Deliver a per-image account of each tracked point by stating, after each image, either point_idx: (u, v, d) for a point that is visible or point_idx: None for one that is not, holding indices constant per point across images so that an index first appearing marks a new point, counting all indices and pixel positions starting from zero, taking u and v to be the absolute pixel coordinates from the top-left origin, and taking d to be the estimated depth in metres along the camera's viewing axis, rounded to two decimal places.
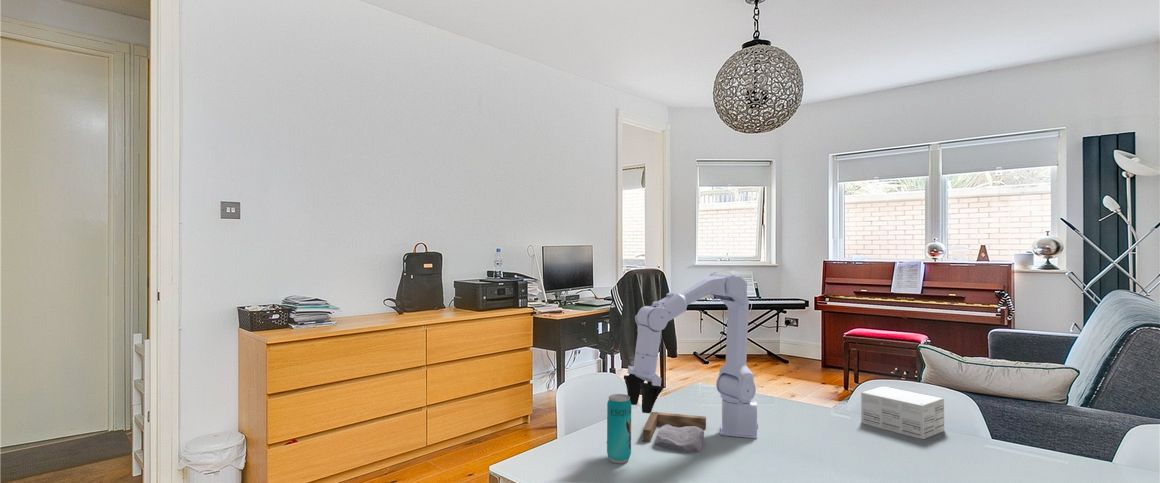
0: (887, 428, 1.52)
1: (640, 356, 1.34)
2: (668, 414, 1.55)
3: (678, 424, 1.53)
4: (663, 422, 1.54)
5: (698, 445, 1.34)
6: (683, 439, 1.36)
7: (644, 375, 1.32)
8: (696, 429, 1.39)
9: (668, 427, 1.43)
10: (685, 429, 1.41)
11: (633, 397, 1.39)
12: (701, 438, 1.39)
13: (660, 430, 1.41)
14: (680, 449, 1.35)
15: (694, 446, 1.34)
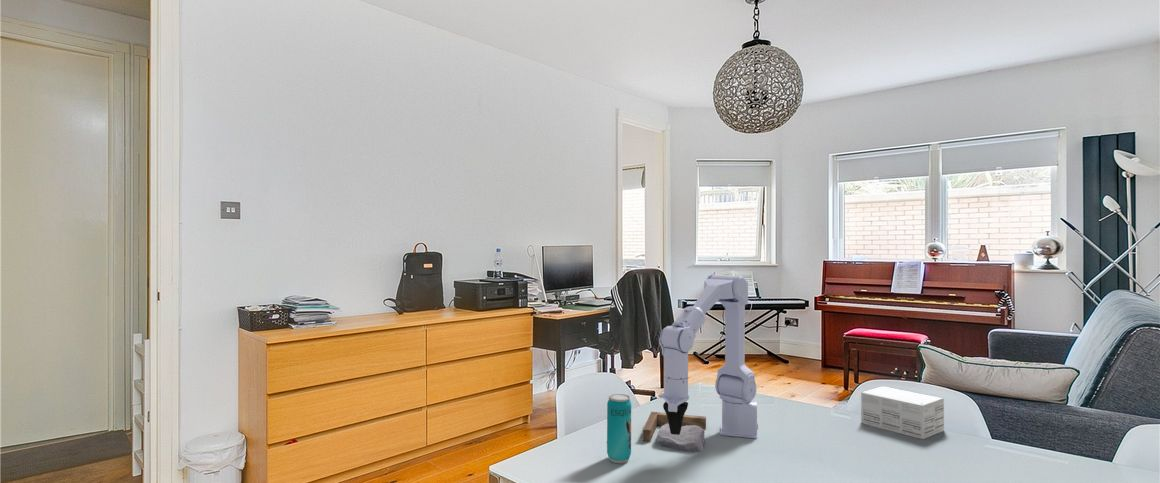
0: (887, 428, 1.52)
1: (665, 379, 1.29)
2: None
3: None
4: (663, 422, 1.54)
5: (699, 444, 1.35)
6: (684, 438, 1.37)
7: (666, 399, 1.26)
8: (696, 428, 1.40)
9: (668, 426, 1.44)
10: (685, 428, 1.42)
11: None
12: (702, 437, 1.39)
13: (661, 429, 1.41)
14: (681, 448, 1.36)
15: (695, 445, 1.35)
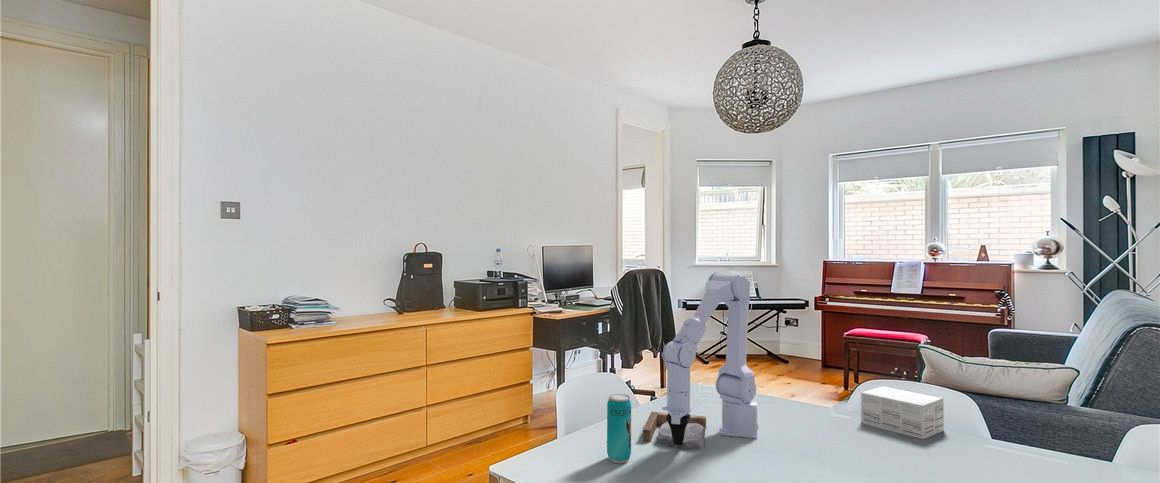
0: (887, 428, 1.52)
1: (668, 392, 1.35)
2: None
3: None
4: (663, 422, 1.54)
5: (699, 442, 1.37)
6: (685, 436, 1.38)
7: (669, 412, 1.33)
8: (697, 426, 1.41)
9: None
10: (686, 426, 1.43)
11: None
12: (702, 435, 1.41)
13: (662, 427, 1.43)
14: (682, 446, 1.37)
15: (696, 443, 1.36)
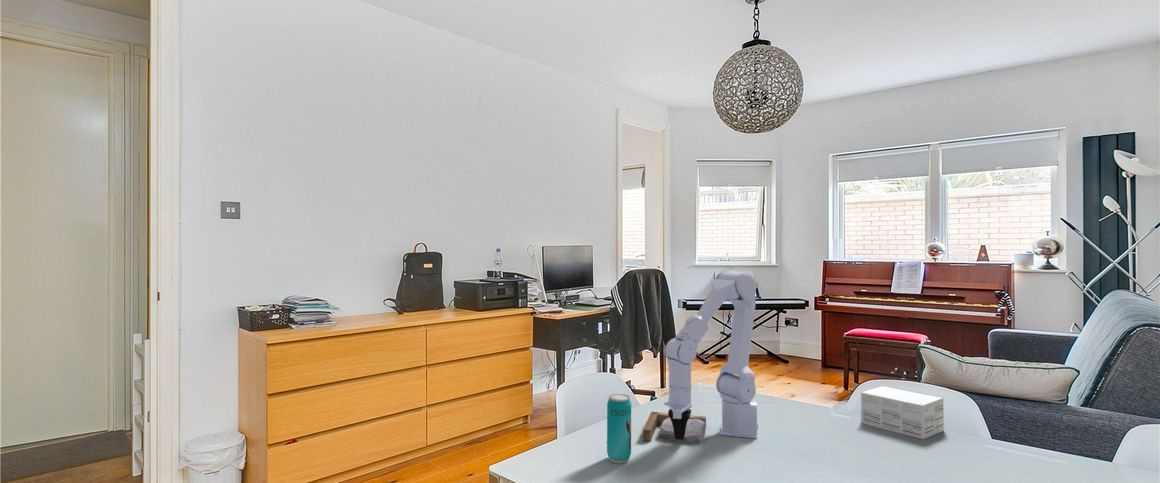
0: (887, 428, 1.52)
1: (669, 388, 1.39)
2: None
3: None
4: None
5: (700, 436, 1.41)
6: (686, 431, 1.42)
7: (671, 407, 1.37)
8: (698, 421, 1.45)
9: None
10: (687, 421, 1.47)
11: None
12: (703, 430, 1.45)
13: (664, 423, 1.47)
14: (683, 440, 1.41)
15: (697, 437, 1.40)
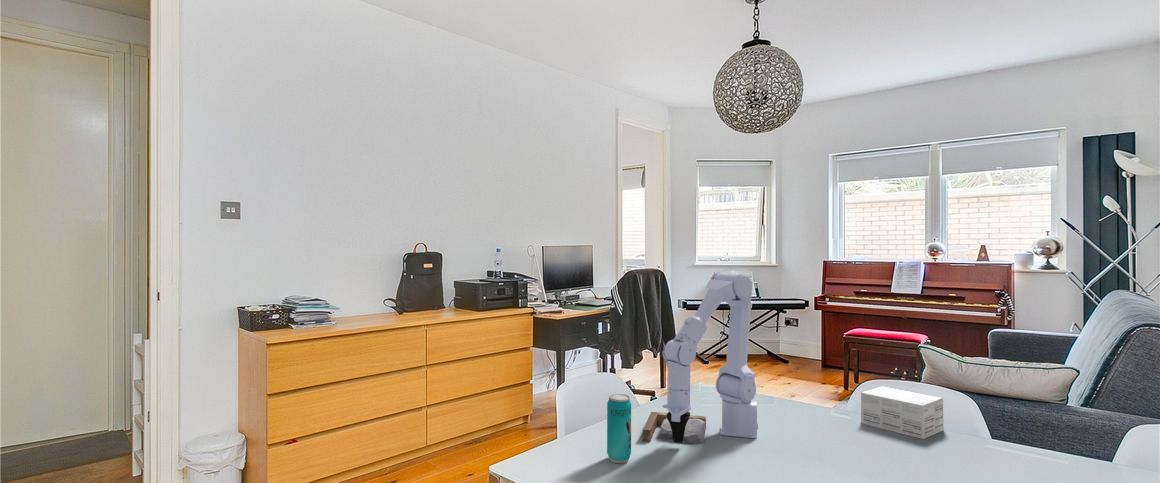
0: (887, 428, 1.52)
1: (668, 390, 1.37)
2: None
3: None
4: None
5: (701, 436, 1.41)
6: (686, 431, 1.42)
7: (669, 410, 1.34)
8: (698, 421, 1.46)
9: None
10: None
11: None
12: (703, 429, 1.45)
13: (664, 422, 1.47)
14: (684, 440, 1.41)
15: (697, 437, 1.40)
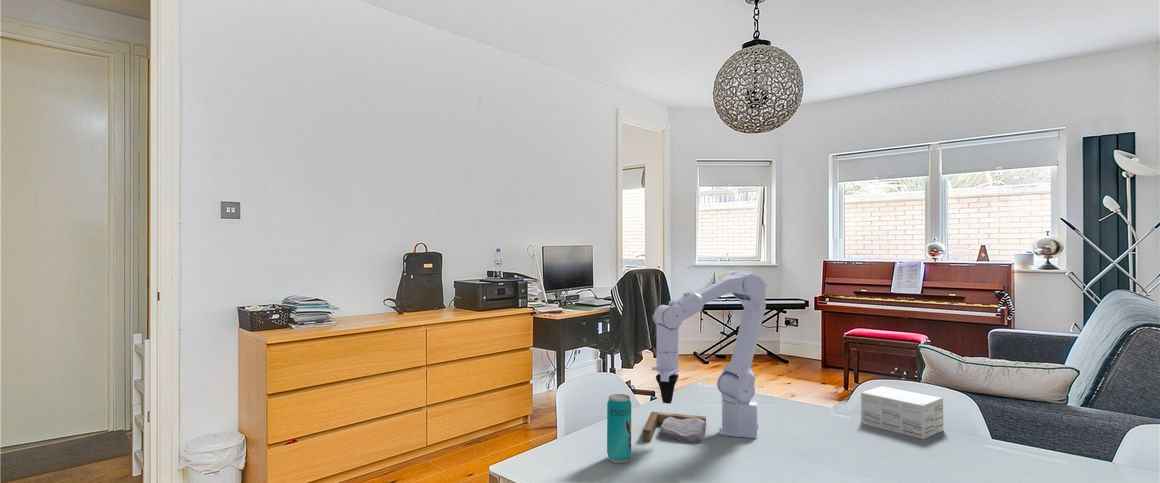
0: (887, 428, 1.52)
1: (657, 353, 1.42)
2: (668, 414, 1.55)
3: None
4: None
5: (701, 435, 1.41)
6: (687, 430, 1.43)
7: (658, 371, 1.39)
8: (698, 421, 1.46)
9: (671, 419, 1.50)
10: (687, 420, 1.48)
11: None
12: (703, 429, 1.46)
13: (665, 422, 1.47)
14: (684, 439, 1.42)
15: (698, 436, 1.41)
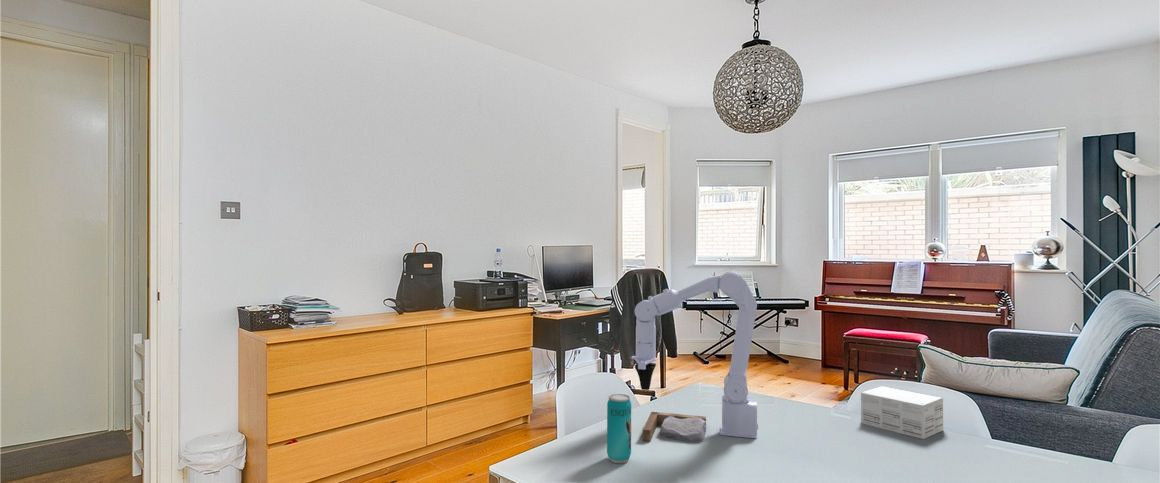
0: (887, 428, 1.52)
1: (636, 344, 1.55)
2: (668, 414, 1.55)
3: None
4: None
5: (701, 435, 1.42)
6: (687, 430, 1.43)
7: (637, 360, 1.53)
8: (699, 420, 1.47)
9: (672, 419, 1.50)
10: (688, 420, 1.48)
11: None
12: (704, 428, 1.46)
13: (665, 421, 1.48)
14: (684, 439, 1.42)
15: (698, 436, 1.41)
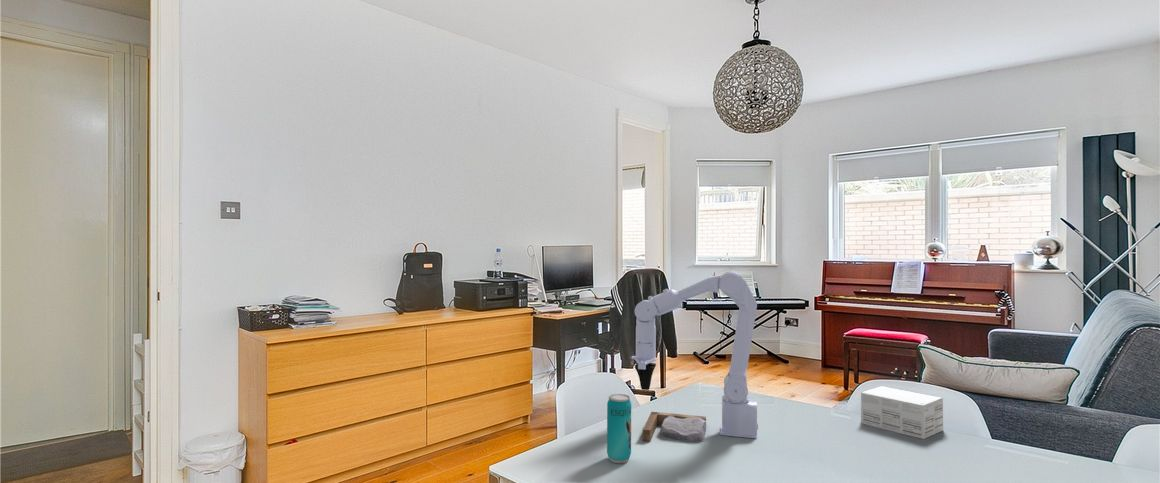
0: (887, 428, 1.52)
1: (636, 344, 1.55)
2: (668, 414, 1.55)
3: None
4: None
5: (701, 434, 1.42)
6: (687, 429, 1.43)
7: (637, 360, 1.53)
8: (699, 420, 1.47)
9: (672, 418, 1.50)
10: (688, 419, 1.48)
11: None
12: (704, 428, 1.46)
13: (665, 421, 1.48)
14: (684, 439, 1.42)
15: (698, 436, 1.41)
